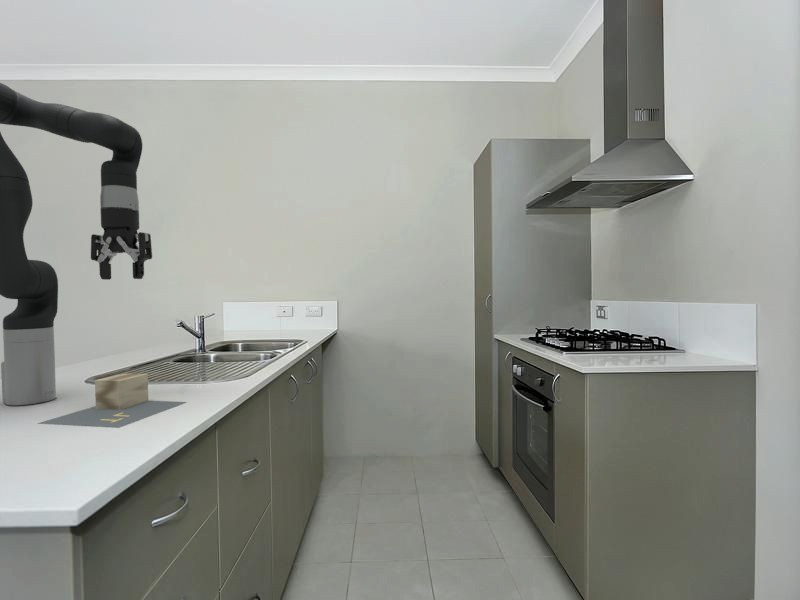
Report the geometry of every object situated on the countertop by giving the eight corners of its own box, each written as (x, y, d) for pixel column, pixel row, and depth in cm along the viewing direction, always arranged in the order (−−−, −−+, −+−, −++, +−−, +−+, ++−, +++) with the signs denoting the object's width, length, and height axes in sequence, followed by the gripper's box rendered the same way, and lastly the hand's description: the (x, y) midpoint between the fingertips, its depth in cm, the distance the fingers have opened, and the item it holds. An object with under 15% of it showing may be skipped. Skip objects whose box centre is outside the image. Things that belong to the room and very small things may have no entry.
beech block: (95, 408, 96) (94, 380, 96) (125, 399, 104) (124, 373, 104) (120, 409, 95) (119, 381, 95) (148, 400, 103) (147, 374, 103)
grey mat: (37, 425, 86) (37, 423, 86) (118, 401, 105) (118, 399, 105) (118, 430, 82) (118, 427, 82) (187, 404, 101) (187, 401, 101)
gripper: (79, 207, 102) (81, 279, 102) (134, 203, 99) (136, 278, 100) (107, 212, 109) (109, 280, 110) (158, 209, 107) (160, 279, 107)
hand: (122, 279), depth 105 cm, fingers open, 8 cm apart
